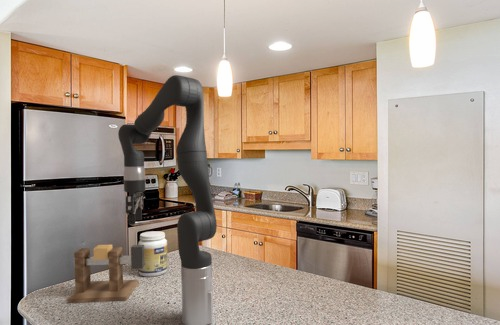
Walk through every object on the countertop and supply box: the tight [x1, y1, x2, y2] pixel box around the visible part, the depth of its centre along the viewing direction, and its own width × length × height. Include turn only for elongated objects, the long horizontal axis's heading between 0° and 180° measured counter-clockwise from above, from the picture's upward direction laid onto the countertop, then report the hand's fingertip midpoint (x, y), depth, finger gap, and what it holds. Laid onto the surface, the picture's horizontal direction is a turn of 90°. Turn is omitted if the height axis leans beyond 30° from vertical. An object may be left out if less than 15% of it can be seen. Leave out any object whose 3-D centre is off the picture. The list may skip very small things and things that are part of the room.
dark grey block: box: [73, 244, 144, 270], centre depth 124 cm, size 24×3×8 cm, turn 94°
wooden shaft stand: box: [66, 246, 140, 304], centre depth 123 cm, size 20×16×16 cm
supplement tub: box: [137, 230, 169, 278], centre depth 144 cm, size 12×12×17 cm
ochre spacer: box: [92, 244, 113, 260], centre depth 123 cm, size 5×5×4 cm
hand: (135, 222), depth 124 cm, fingers open, 8 cm apart
